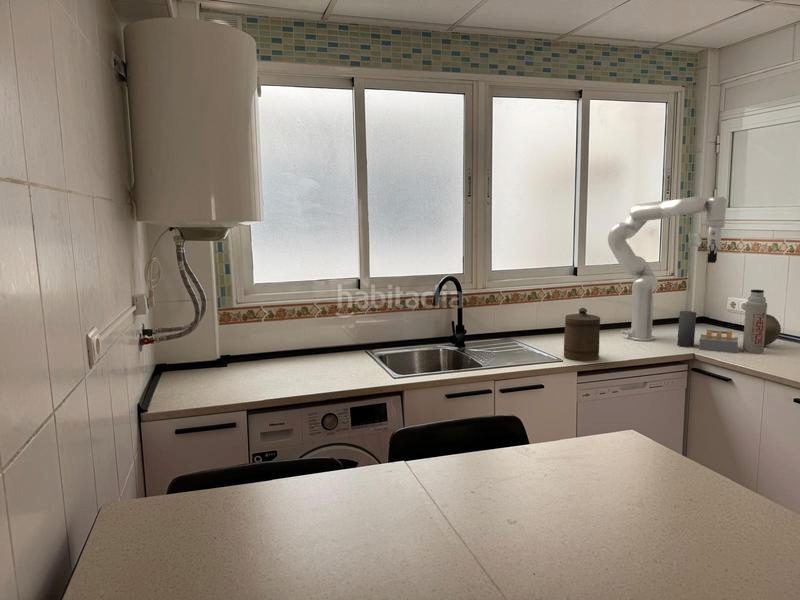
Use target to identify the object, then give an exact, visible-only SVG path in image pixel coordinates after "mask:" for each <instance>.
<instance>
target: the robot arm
mask: <svg viewBox="0 0 800 600" xmlns="http://www.w3.org/2000/svg"><path fill="white" fill-rule="evenodd" d="M726 208H727V197H724V196H712V197H703V196H691V197H684V198H677V199H676V198H675V199H670V200H669V199H668V200H667V199H665V200H660V201H659V200H658V201H653V202H645V203H640V204H635V205H633V206H632V207H631V208H630V210H629V216H628V217H627V218H626V219H625V220H624V221H623V222H618V223H616V224H614V225H613V226H612V227H611V228H610V230H609V233H608V236H607V243H608V247H609V248H610V250H611V252H612V254H613V255H614V257H615V259H616V260H617V262H618V264H619V266H620V267H621V269H622V270H623V272H624V274H626V276H629V277H632V278H633V279H634V280H633V283H632V284H631V285H632V286H631V293H632V297H631V298H632V301H631V302H632V304H631V325H630V326H631V327H630V328H629V329H628V330H624V329H622V330H620V334H621V335H625V336H626V335H627V339H628V340H632V341H639V342H641V341H642V342H651V341H654V340H655V339H656V337H655V336H654V335H653V320H654V319H653V314H654V291H656V290H657V288H658V285H659V281H658V278H657V277H656V275H655V274H654V272H653V270H652V269H651V267H650V265H649V264H648V262H647V260H646V259H644V257H642V256H638V255H636V254H635V252H634V251H633V249H632V247H631V246H630V244H629V243H628V242H627V240H628V239H629V240H630V239H631V238H632V237H634V236H635V235H636V234H637V233H638V232H639V231H640V230H641V229H642V228H643V227H644V225H645V224H647V222H648V221H655V220H662V219H663V220H664V219H669V218H672V217H676V216H683V215H685V216H686V215H693V214H702V213H706V214H705V215H706V219H705V228H707V229H708V230H707V250H708V254H707V262H706V263H709V264H711V263H712V264H715V263H716V262H717V257H718V250H720V249H721V244H722V229H724V228H725V222H726V210H727V209H726ZM717 249H718V250H717Z"/></svg>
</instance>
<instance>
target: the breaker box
mask: <svg viewBox="0 0 800 600" xmlns="http://www.w3.org/2000/svg"><path fill="white" fill-rule="evenodd" d="M716 336H717V334H716V333H712V337H707V333H701V334H700V337H699V344H698V345H699V346H698V350H699V351H710V352H718V353H719V352H721V353H732V354H738V348H739V347H738V345H739V344H738V343H739V337H738V336H736V335H732V339H726V338H727V334H722V337H721V338H716Z"/></svg>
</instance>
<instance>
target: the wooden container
mask: <svg viewBox="0 0 800 600" xmlns="http://www.w3.org/2000/svg"><path fill="white" fill-rule="evenodd" d="M578 312H579V313H571V314H567V315H565V319H564V322H565V323H564V337H563V339H564V341H563V357H564V358H565V359H568V360H572V361H577V362H579V361H580V362H592V361H597V360H598V359H600V325H601V316H598V315H594V314H588V313H587V312H588V309H587V308H585V307H581V308H579V309H578Z"/></svg>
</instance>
